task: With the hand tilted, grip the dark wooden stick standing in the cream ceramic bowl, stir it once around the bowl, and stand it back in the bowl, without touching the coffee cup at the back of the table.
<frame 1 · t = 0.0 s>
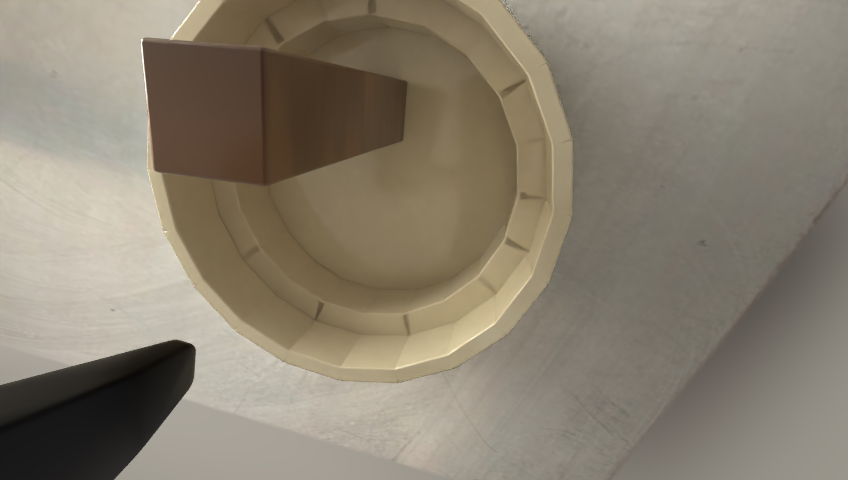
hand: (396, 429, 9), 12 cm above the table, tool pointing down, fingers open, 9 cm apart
bowl: (387, 168, 19), on the table
stir stick: (377, 108, 18), resting on bowl
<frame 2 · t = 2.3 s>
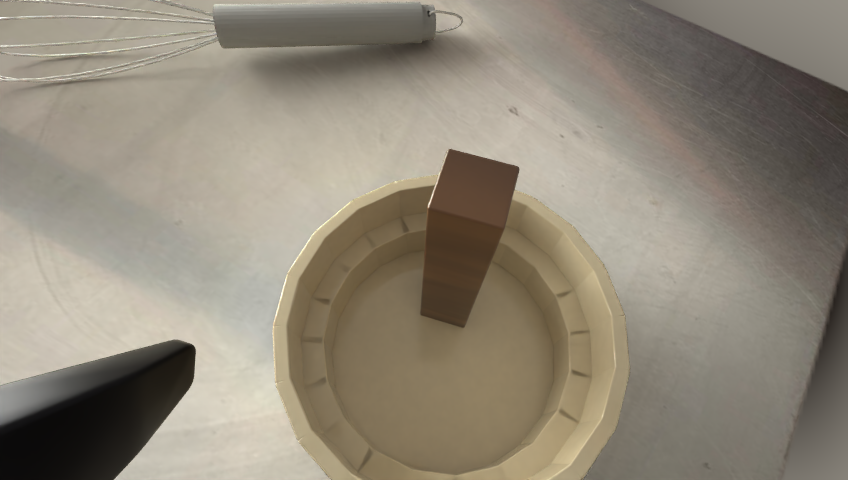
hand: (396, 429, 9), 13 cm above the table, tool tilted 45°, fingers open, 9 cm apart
kitchen whisk: (225, 53, 32), on the table
bowl: (442, 350, 23), on the table
stir stick: (447, 301, 23), resting on bowl
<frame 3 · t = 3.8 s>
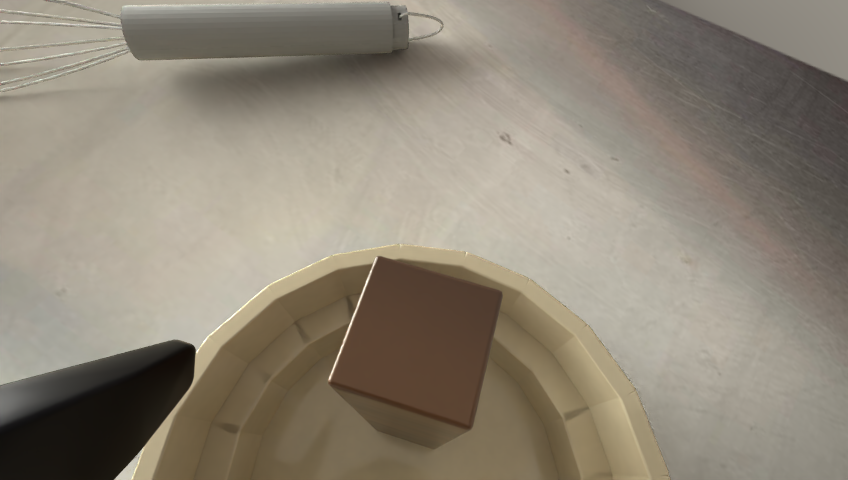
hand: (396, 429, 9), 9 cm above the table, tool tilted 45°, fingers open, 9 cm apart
kitchen whisk: (148, 66, 26), on the table
stir stick: (414, 407, 17), resting on bowl
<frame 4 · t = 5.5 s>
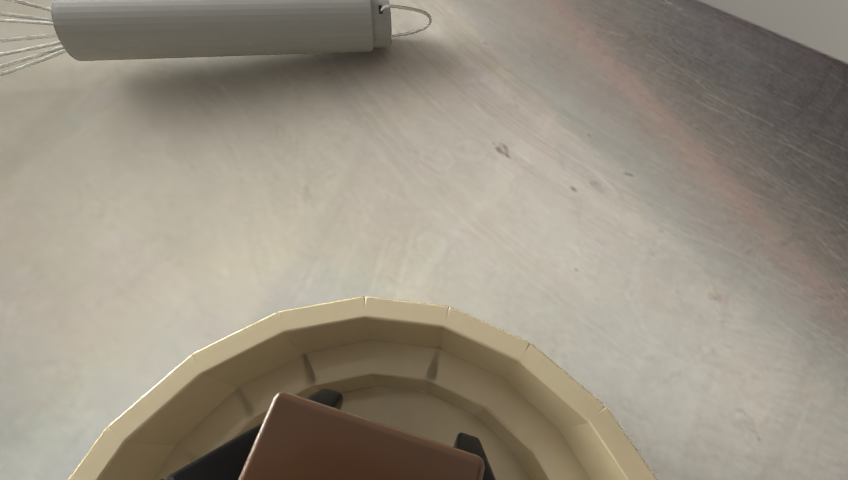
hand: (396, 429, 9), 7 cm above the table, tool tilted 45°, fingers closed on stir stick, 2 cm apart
kitchen whisk: (94, 67, 23), on the table
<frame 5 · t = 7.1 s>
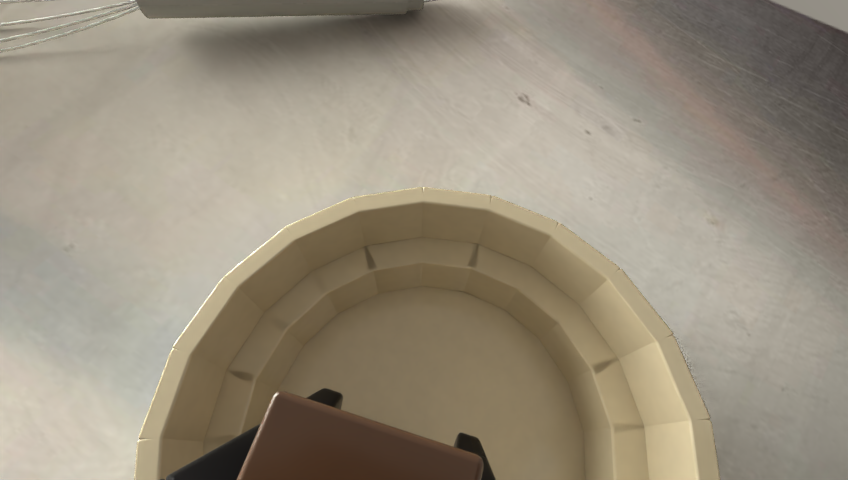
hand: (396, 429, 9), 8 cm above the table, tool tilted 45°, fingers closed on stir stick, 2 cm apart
kitchen whisk: (156, 27, 25), on the table
bowl: (425, 437, 16), on the table
when the fingers open (7 cm above the table, at t = 9.2 s): stir stick stays where it is, resting on bowl.
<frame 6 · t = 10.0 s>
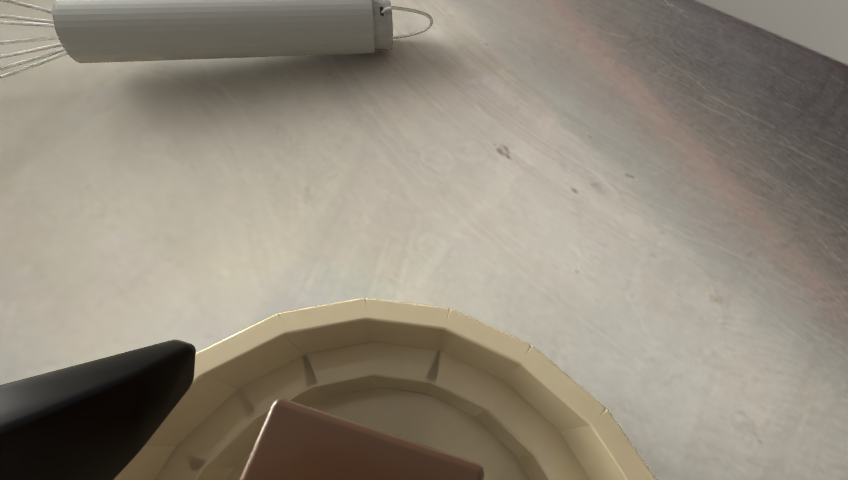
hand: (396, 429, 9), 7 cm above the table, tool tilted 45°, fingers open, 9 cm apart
kitchen whisk: (95, 69, 23), on the table
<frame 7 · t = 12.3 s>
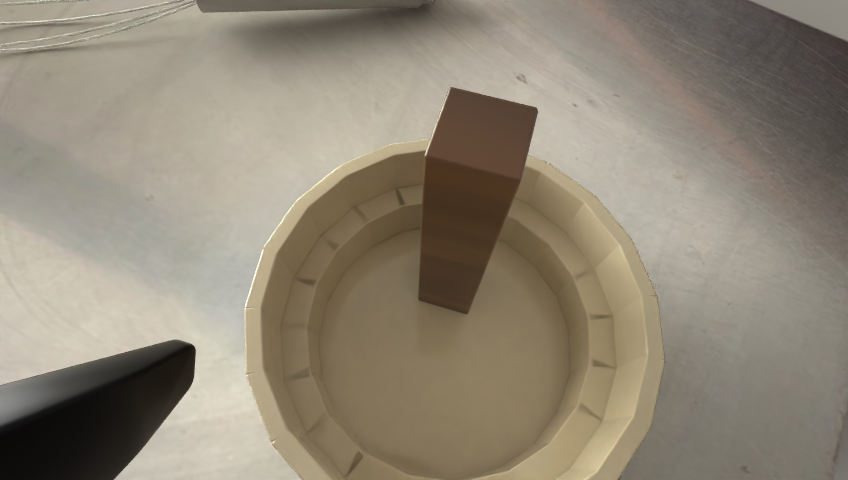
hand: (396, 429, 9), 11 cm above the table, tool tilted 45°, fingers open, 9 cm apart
kitchen whisk: (206, 20, 29), on the table
bowl: (444, 339, 20), on the table
stir stick: (449, 284, 21), point 1 cm above the table, touching bowl
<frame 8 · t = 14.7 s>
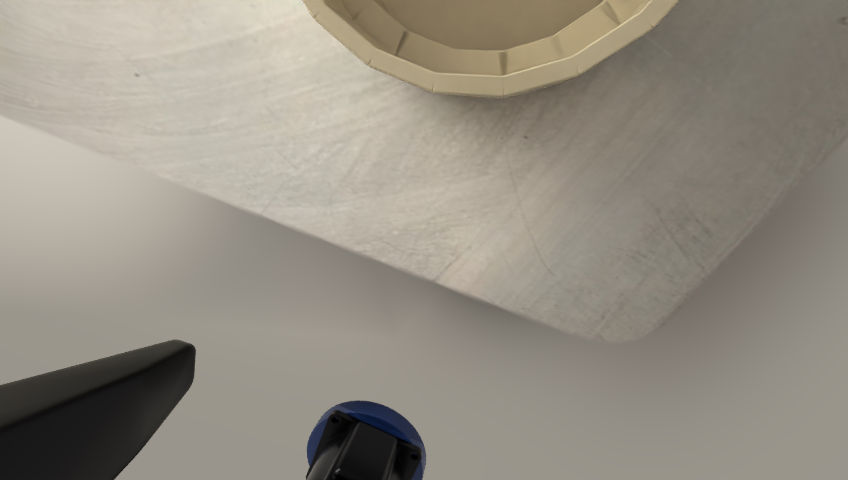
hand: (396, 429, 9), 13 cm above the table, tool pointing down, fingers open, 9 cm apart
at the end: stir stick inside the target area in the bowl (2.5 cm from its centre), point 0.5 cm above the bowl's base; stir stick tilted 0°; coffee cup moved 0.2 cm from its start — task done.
